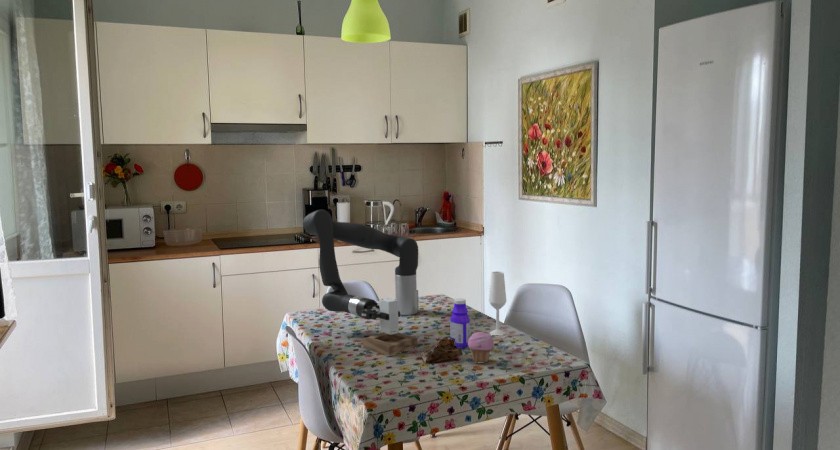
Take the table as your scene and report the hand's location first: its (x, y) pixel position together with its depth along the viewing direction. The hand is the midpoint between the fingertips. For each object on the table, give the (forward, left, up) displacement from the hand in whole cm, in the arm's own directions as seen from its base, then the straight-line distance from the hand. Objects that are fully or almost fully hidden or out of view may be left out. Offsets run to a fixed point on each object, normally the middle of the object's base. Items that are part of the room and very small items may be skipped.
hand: (393, 315), depth 229 cm
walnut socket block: (0, -3, -12) cm, 13 cm away
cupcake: (-10, +31, -13) cm, 35 cm away
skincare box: (0, -3, -7) cm, 7 cm away
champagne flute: (-39, +16, -12) cm, 44 cm away
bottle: (-18, +15, -13) cm, 27 cm away
